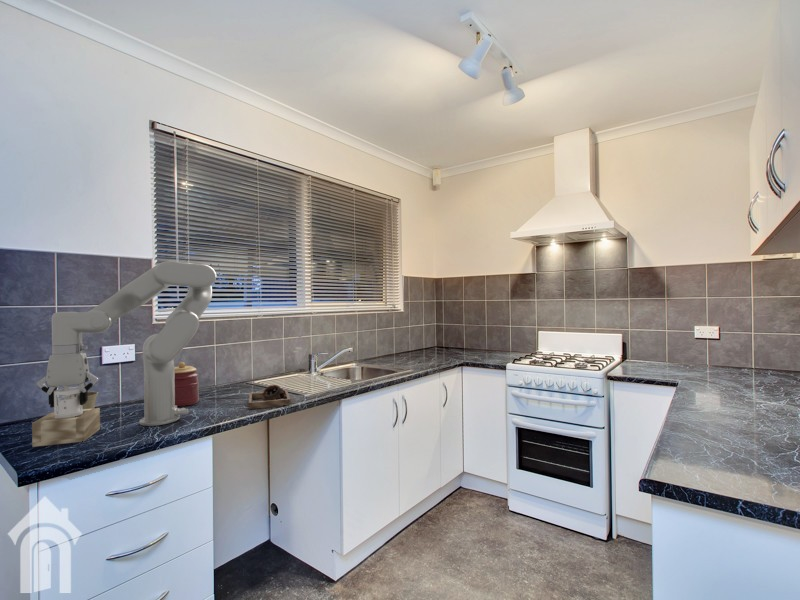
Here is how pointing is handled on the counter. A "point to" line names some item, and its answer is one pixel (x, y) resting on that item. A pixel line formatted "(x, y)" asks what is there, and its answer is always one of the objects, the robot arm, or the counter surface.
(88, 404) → the flower pot
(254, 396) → the wooden tray
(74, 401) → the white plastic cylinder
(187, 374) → the canister
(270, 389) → the dark brown rounded lump
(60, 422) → the beech holder block
